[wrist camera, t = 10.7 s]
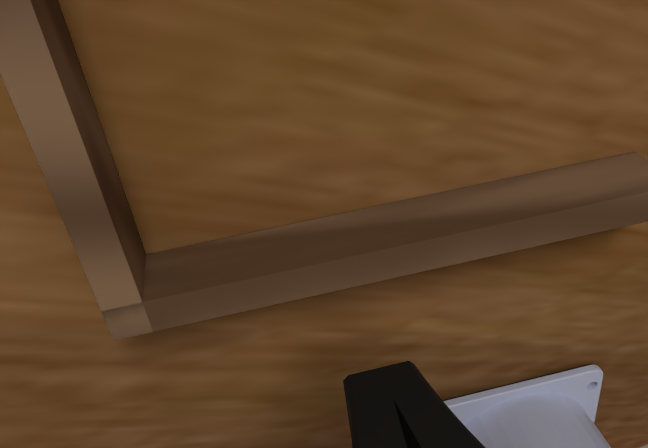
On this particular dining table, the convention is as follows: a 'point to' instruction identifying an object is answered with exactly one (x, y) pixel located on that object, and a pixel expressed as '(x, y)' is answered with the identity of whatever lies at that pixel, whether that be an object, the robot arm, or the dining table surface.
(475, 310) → the dining table surface
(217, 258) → the walnut bay
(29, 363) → the dining table surface
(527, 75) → the dining table surface
